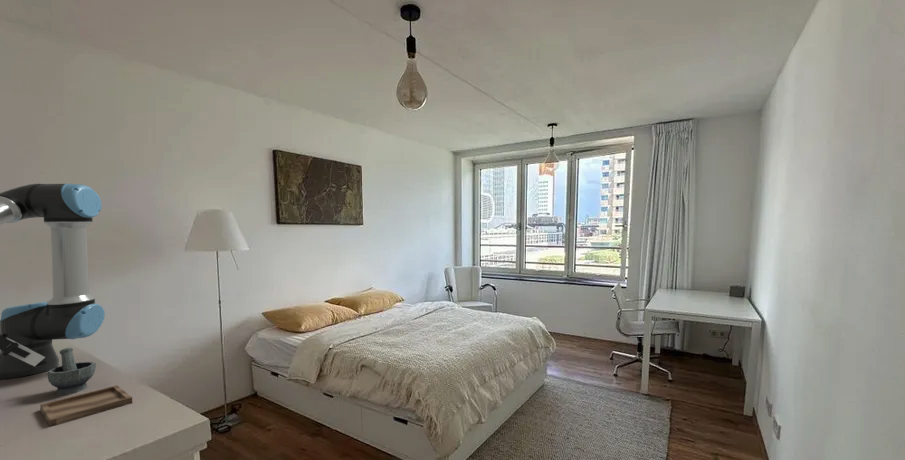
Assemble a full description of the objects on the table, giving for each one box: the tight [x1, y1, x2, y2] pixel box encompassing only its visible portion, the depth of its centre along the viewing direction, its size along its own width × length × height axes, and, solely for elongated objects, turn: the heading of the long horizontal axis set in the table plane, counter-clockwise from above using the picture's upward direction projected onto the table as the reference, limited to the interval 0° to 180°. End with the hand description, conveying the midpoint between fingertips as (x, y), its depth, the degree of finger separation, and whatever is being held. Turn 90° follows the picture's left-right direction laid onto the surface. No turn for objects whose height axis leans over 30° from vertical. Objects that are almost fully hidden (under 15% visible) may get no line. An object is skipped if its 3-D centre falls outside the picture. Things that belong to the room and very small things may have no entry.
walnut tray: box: [39, 385, 133, 427], centre depth 96 cm, size 15×15×2 cm
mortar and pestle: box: [47, 347, 96, 396], centre depth 107 cm, size 11×9×12 cm
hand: (33, 357), depth 100 cm, fingers open, 13 cm apart
